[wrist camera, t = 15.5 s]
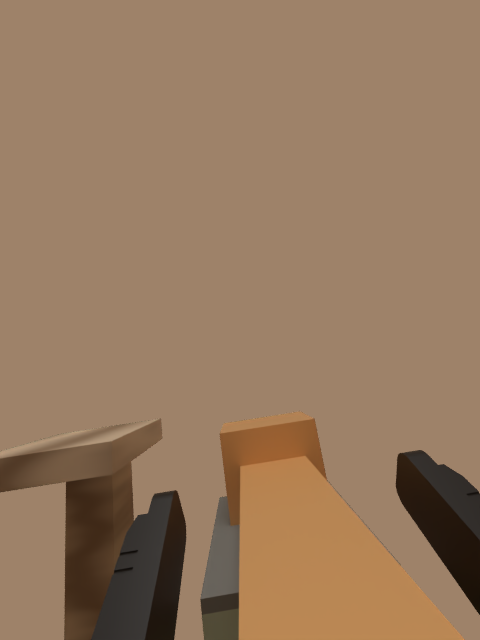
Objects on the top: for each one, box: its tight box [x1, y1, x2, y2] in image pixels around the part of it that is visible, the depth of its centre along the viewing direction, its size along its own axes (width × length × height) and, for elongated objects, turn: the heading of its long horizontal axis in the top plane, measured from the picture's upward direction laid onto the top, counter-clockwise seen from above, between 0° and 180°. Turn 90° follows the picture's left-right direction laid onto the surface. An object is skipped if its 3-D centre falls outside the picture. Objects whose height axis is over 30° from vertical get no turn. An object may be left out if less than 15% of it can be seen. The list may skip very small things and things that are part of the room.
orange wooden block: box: [220, 412, 464, 640], centre depth 12 cm, size 6×16×5 cm, turn 0°
